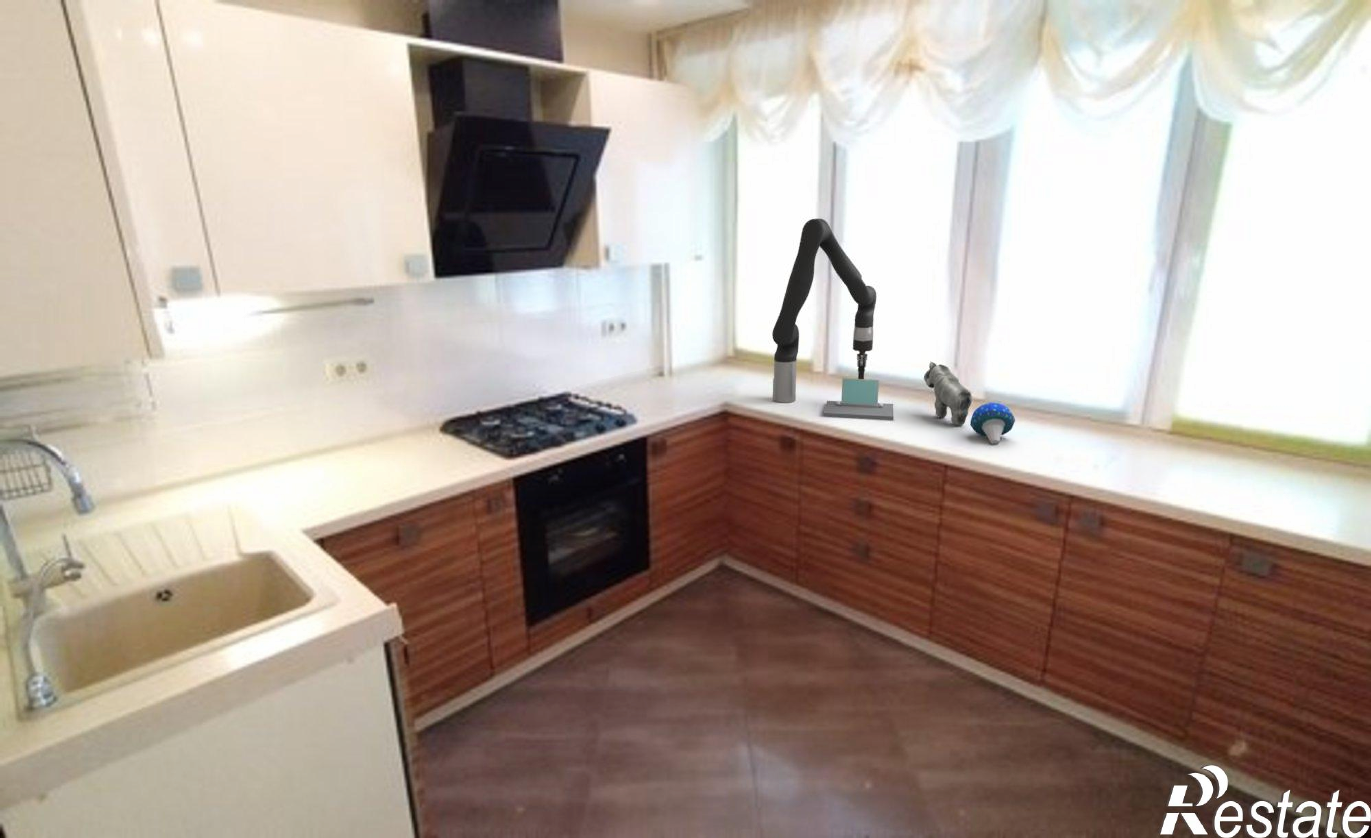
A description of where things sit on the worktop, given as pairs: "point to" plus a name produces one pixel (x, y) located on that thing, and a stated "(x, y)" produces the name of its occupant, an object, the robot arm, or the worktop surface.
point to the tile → (860, 391)
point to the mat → (859, 411)
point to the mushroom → (992, 421)
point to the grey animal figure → (948, 393)
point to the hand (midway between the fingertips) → (860, 380)
